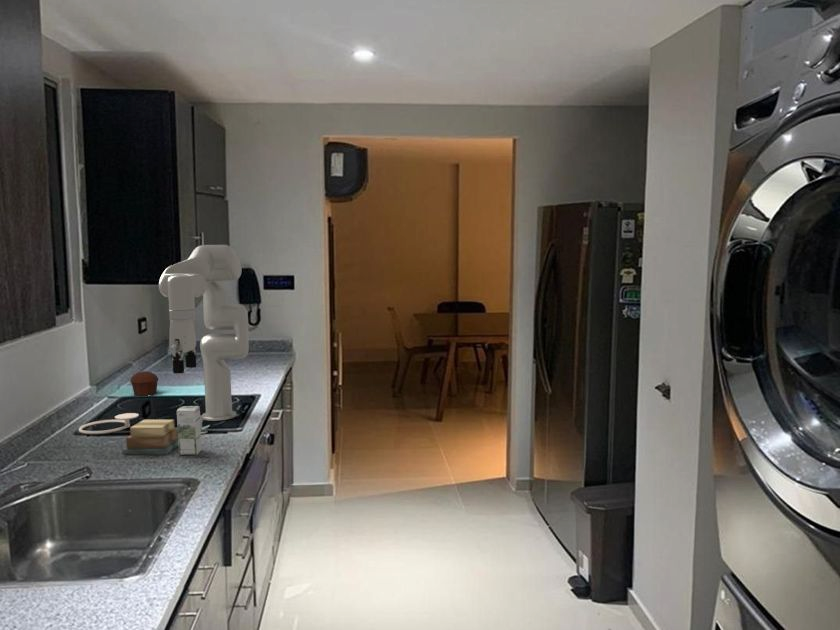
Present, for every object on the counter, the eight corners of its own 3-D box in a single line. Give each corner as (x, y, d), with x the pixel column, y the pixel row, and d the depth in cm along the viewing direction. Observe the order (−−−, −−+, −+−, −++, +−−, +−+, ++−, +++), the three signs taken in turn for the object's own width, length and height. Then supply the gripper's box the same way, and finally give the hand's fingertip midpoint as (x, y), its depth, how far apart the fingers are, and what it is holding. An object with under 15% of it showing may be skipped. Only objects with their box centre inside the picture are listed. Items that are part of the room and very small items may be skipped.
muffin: (164, 392, 312) (162, 369, 311) (152, 397, 301) (150, 374, 300) (138, 391, 313) (137, 369, 312) (125, 397, 302) (124, 374, 301)
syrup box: (202, 449, 226) (200, 405, 224) (197, 455, 220) (194, 409, 218) (184, 450, 225) (181, 405, 224) (178, 455, 220) (176, 410, 218)
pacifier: (207, 435, 243) (211, 430, 249) (206, 417, 242) (210, 412, 248) (185, 436, 242) (189, 430, 248) (184, 418, 241) (188, 413, 247)
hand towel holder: (88, 411, 261) (145, 409, 263) (89, 423, 261) (146, 421, 263) (69, 423, 244) (130, 421, 246) (70, 435, 245) (131, 433, 246)
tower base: (142, 441, 236) (141, 417, 235) (183, 441, 235) (182, 418, 234) (122, 454, 222) (121, 429, 221) (166, 454, 221) (164, 429, 220)
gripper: (181, 312, 227) (184, 365, 228) (158, 318, 209) (161, 375, 211) (204, 312, 226) (207, 365, 228) (183, 318, 209) (186, 375, 211)
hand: (185, 370), depth 220 cm, fingers open, 9 cm apart
